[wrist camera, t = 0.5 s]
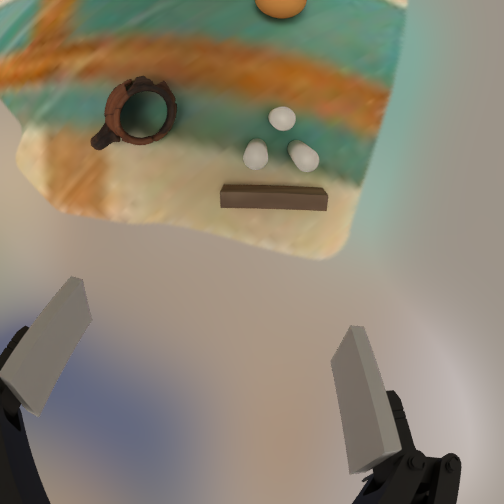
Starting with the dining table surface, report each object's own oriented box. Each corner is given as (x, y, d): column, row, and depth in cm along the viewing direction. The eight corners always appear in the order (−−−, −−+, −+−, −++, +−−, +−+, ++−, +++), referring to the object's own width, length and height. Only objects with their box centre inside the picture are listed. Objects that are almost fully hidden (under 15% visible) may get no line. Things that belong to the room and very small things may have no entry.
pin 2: (287, 139, 33) (295, 147, 25) (306, 140, 33) (319, 149, 25) (286, 157, 34) (294, 171, 26) (305, 158, 34) (318, 172, 26)
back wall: (223, 184, 36) (220, 192, 33) (322, 188, 35) (328, 195, 32) (224, 199, 37) (220, 207, 34) (321, 202, 36) (326, 211, 33)
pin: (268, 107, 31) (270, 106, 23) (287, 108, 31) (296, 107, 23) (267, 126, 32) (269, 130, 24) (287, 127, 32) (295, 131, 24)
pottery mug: (143, 61, 28) (149, 60, 22) (183, 107, 35) (198, 118, 30) (78, 123, 29) (69, 138, 23) (121, 163, 36) (124, 186, 30)
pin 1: (247, 138, 33) (243, 145, 25) (266, 138, 33) (268, 146, 25) (247, 156, 34) (243, 169, 26) (266, 156, 34) (267, 170, 26)
